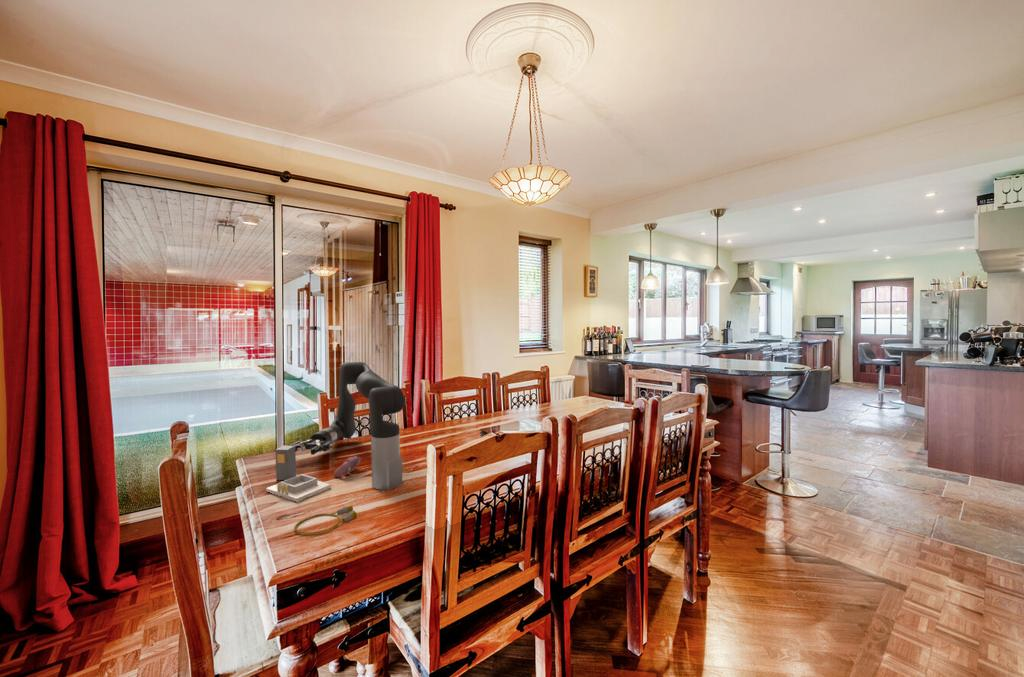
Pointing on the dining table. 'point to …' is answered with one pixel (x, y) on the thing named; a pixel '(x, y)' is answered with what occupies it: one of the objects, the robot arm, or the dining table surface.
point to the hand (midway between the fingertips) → (300, 451)
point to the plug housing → (285, 462)
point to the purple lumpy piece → (347, 466)
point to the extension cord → (340, 511)
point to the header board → (298, 487)
